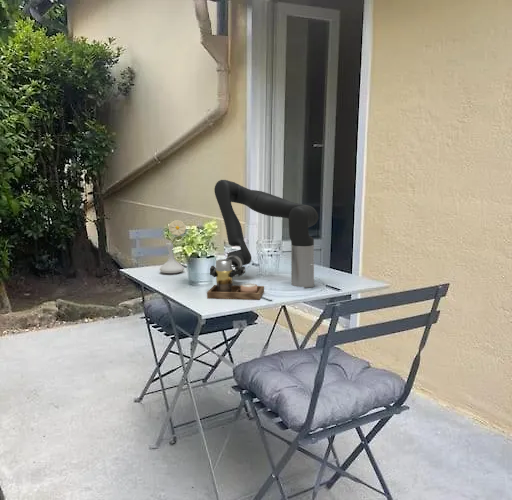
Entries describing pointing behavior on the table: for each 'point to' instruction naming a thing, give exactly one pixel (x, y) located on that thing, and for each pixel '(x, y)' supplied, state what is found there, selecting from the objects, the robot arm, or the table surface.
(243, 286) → the ramekin
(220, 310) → the table surface
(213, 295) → the tray
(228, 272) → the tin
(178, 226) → the flower in vase
